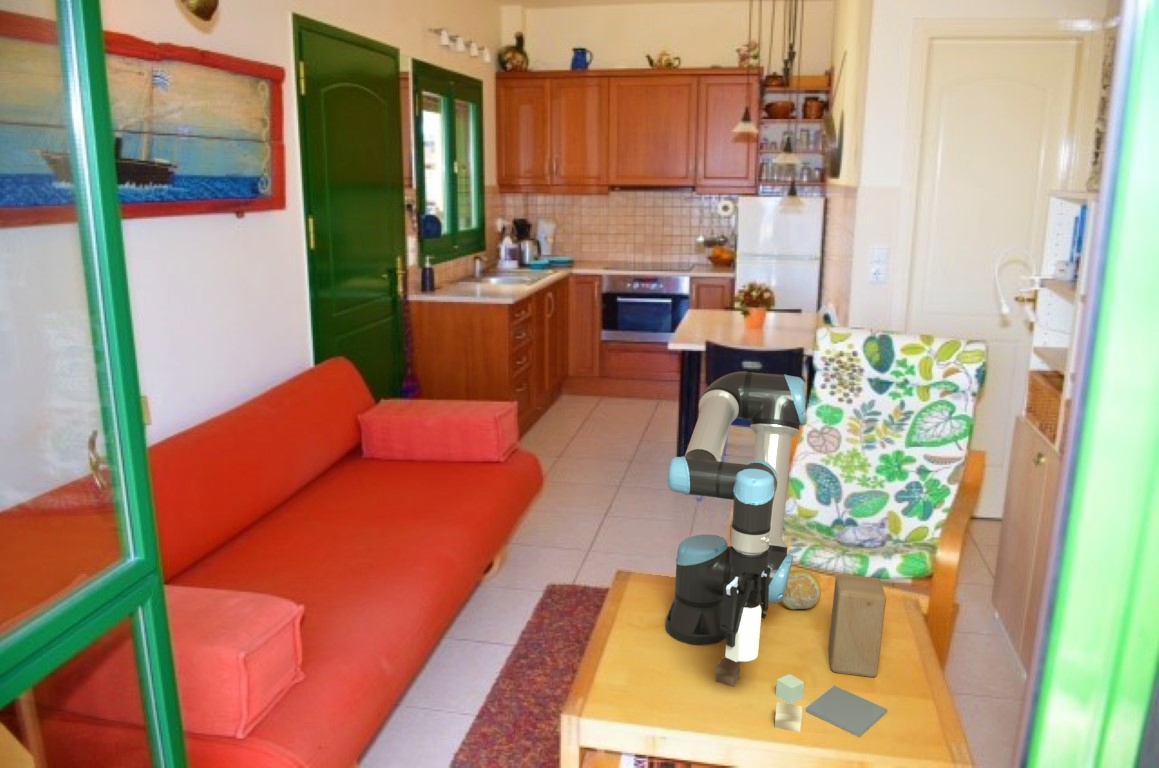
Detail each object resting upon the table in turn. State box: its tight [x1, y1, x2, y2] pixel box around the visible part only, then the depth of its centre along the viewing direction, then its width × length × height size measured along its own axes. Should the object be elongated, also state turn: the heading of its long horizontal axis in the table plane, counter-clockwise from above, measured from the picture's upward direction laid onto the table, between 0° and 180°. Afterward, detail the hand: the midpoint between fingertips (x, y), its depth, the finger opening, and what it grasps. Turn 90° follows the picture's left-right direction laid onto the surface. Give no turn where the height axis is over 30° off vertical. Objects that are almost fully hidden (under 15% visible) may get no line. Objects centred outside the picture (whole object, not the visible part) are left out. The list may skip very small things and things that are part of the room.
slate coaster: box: [805, 685, 888, 738], centre depth 182 cm, size 12×12×1 cm
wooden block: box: [827, 573, 887, 678], centre depth 198 cm, size 10×10×20 cm
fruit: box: [780, 569, 822, 610], centre depth 225 cm, size 10×11×10 cm
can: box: [738, 594, 762, 663], centre depth 178 cm, size 6×6×12 cm
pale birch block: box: [774, 701, 803, 733], centre depth 176 cm, size 5×3×4 cm, turn 76°
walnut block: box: [715, 656, 741, 688], centre depth 192 cm, size 4×4×4 cm
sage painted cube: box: [775, 673, 805, 705], centre depth 186 cm, size 4×4×4 cm
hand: (741, 651), depth 179 cm, fingers closed on can, 6 cm apart
